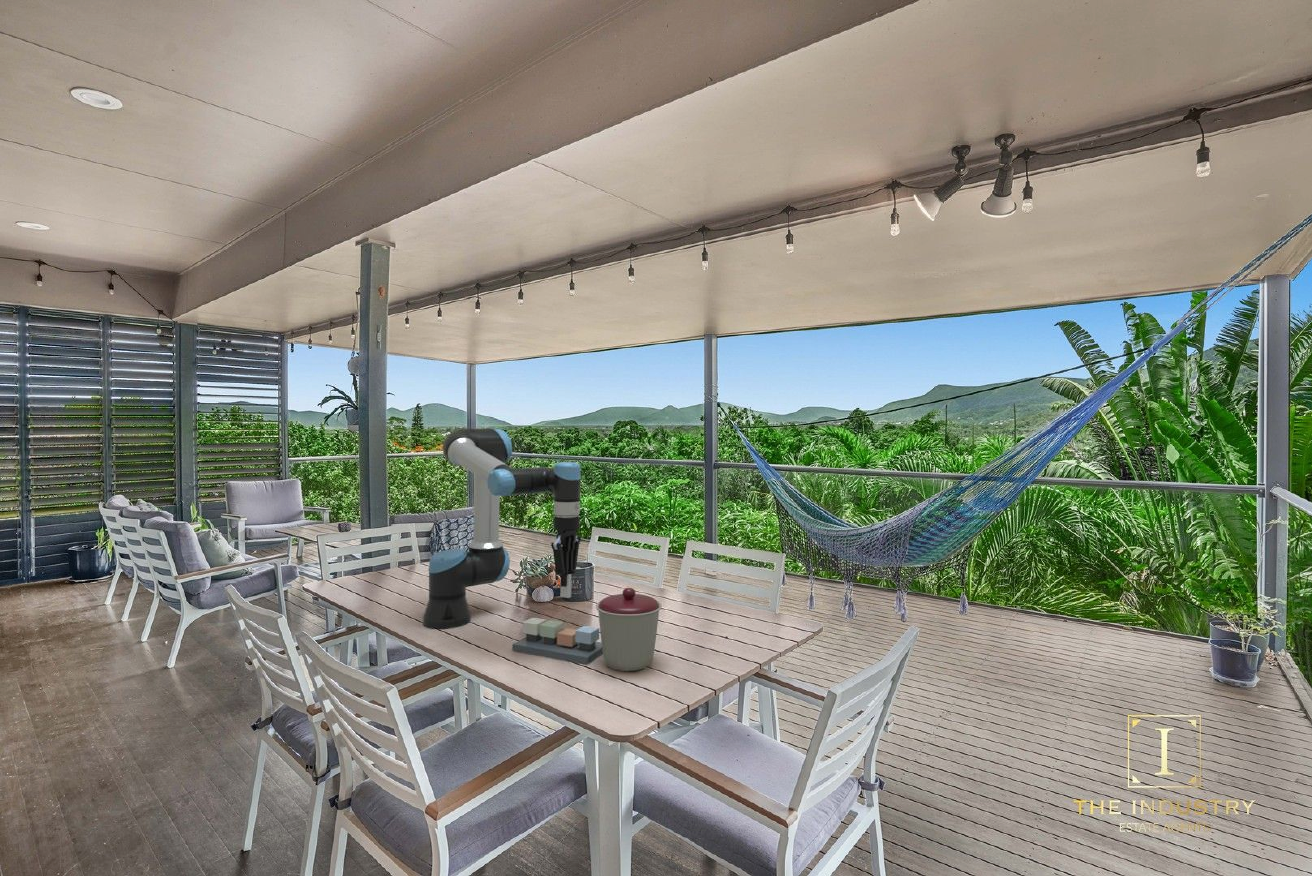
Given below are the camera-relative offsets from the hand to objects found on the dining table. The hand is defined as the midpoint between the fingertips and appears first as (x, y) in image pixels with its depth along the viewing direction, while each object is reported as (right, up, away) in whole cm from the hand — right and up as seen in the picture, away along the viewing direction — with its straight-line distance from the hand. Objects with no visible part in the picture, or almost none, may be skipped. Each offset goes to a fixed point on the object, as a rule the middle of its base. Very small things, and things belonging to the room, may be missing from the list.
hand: (565, 596), depth 173 cm
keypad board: (-2, -16, +1) cm, 16 cm away
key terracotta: (+1, -13, -1) cm, 13 cm away
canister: (+19, -17, -9) cm, 26 cm away
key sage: (-4, -12, +2) cm, 13 cm away
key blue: (+7, -12, -3) cm, 14 cm away
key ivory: (-10, -12, +4) cm, 16 cm away
